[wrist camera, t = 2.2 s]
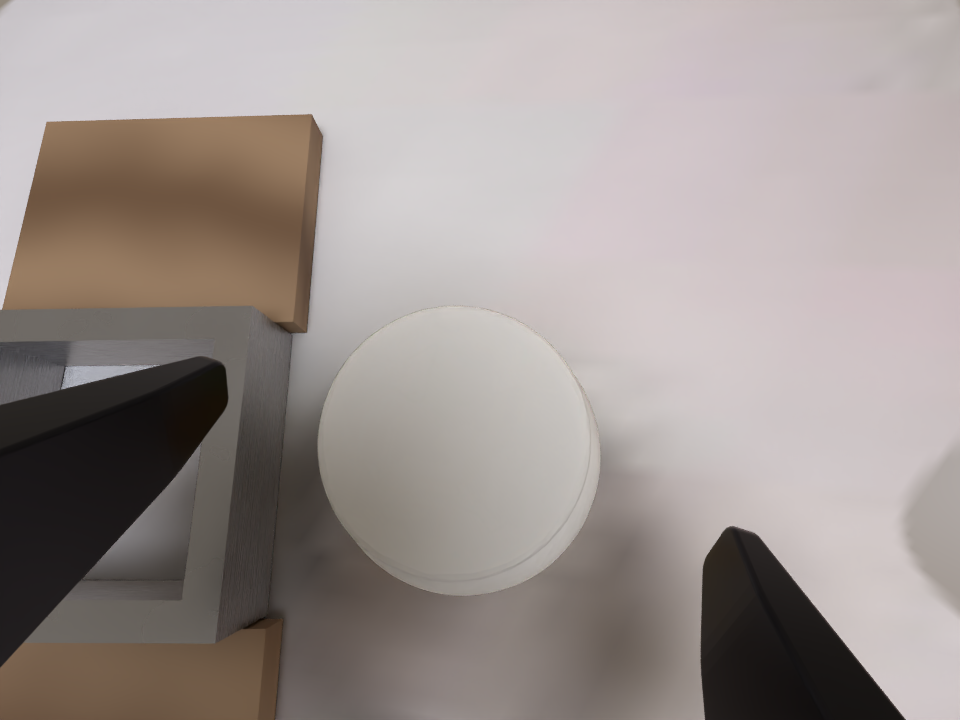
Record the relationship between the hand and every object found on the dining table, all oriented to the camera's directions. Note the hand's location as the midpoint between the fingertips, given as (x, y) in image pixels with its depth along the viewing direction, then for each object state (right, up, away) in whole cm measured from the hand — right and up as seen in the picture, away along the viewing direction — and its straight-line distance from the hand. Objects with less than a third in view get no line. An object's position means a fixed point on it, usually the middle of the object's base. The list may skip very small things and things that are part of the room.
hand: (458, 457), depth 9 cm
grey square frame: (-11, -2, +8) cm, 14 cm away
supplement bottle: (0, -2, +8) cm, 8 cm away
